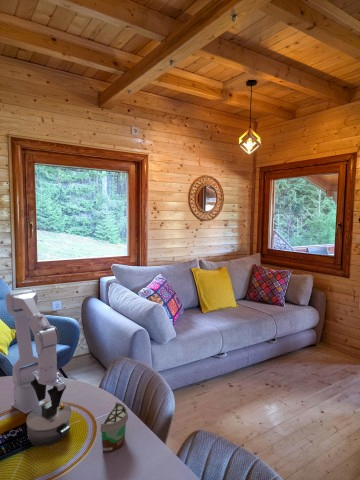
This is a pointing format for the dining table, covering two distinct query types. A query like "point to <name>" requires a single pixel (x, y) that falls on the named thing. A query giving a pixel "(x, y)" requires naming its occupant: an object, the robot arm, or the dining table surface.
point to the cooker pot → (48, 435)
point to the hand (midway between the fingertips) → (48, 403)
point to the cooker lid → (48, 417)
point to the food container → (114, 429)
